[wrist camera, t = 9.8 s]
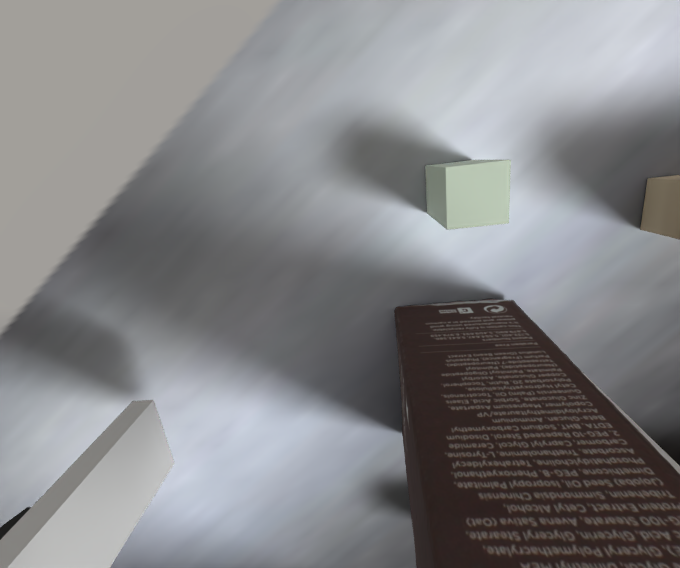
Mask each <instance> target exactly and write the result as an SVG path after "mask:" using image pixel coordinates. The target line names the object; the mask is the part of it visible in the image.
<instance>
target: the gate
mask: <svg viewBox="0 0 680 568" xmlns="http://www.w3.org/2000/svg"><path fill="white" fill-rule="evenodd" d="M510 168H511V160H468V161H460V162H451V163H443V164H435V165H426V166H425V175H426V201H427V214H429V215H430V216H431V217H432V218H433V219H435V220H436V221H437V222H438V223H440V224H441V225H442V226H443V227H444V228H446V229H447V230H449V229H458V228H468V227H478V226H488V225H498V224H508V223H509V200H510Z"/></svg>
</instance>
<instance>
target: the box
mask: <svg viewBox="0 0 680 568" xmlns="http://www.w3.org/2000/svg"><path fill="white" fill-rule="evenodd" d="M394 313H395V323H396V337H397V346H398V362H399V374H400V387H401V400H402V435H403V444H404V453H405V464H406V473H407V482H408V491H409V500H410V508H411V517H412V527H413V535H414V544H415V553H416V566H417V568H680V474H679V473H678V472H677V471H676V469H675V468H674V467H673V466H672V465H671V464H670V463H669V462H668V461H667V460H666V459H665V458H664V457H663V456H662V455H661V454H660V453H659V452H658V451H657V449H656V448H655V447H654V446H653V445H652V444H651V443H650V442H649V441H648V440H647V439H646V438H645V437H644V436H643V435H642V434H641V433H640V432H639V430H638V429H637V428H636V427H635V426H634V425H633V424H632V423H631V422H630V421H629V420H628V419H627V418H626V417H625V416H624V415H623V414H622V413H621V412H620V411H619V410H618V409H617V408H616V407H615V406H614V404H613V403H612V402H611V401H610V400H609V399H608V398H607V397H606V396H604V395H603V394H602V393H601V392H600V391H599V390H598V389H597V388H596V386H595V385H594V384H593V383H592V382H591V381H590V380H589V379H588V378H587V377H586V376H585V375H584V374H583V373H582V372H581V371H580V369H579V368H578V367H577V366H576V365H575V364H574V363H573V362H572V361H571V360H570V359H569V358H568V357H567V355H566V354H564V353H563V352H562V351H561V350H560V349H559V347H558V346H557V345H556V344H554V343H553V341H552V340H551V339H550V338H549V337H548V336H547V335H546V334H545V333H544V332H543V331H542V330H541V329H540V328H539V327H538V326H537V325H536V324H535V323H534V322H533V321H532V320H531V319H530V318H529V317H528V316H527V315H526V314H525V313H524V311H523V310H522V309H521V308H520V307H519V306H518V305H517V304H516V303H515V301H513V300H497V299H485V300H480V301H475V300H474V301H455V302H450V303H434V304H426V305H410V306H404V307H396V309H395V311H394Z"/></svg>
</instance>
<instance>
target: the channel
mask: <svg viewBox="0 0 680 568" xmlns="http://www.w3.org/2000/svg"><path fill="white" fill-rule="evenodd" d="M640 230H644V231H648V232H652V233H656V234H660V235H664V236H668V237H672V238H676V239H680V175H674V176H665V177H655V178H648V180H647V186H646V193H645V200H644V207H643V214H642V221H641V228H640Z"/></svg>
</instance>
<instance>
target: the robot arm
mask: <svg viewBox="0 0 680 568" xmlns="http://www.w3.org/2000/svg"><path fill="white" fill-rule="evenodd" d="M582 373H583V372H582ZM583 374H584V373H583ZM584 375H585V374H584ZM585 376H586V375H585ZM586 377H587V376H586ZM587 378H588V377H587ZM588 379H589V378H588ZM589 380H590V379H589ZM590 381H591V380H590ZM591 382H592V381H591ZM592 383H593V382H592ZM593 384H594V383H593ZM594 385H595V384H594ZM595 386H596V388H597V389H598V390H599V391H600V392H601V393H602V394H603V395H604V396H606V397H607V398H608V399H609V400H610V401H611V402H612V403H613V404H614V406H615V407H616V408H617V409H618V410H619V411H620V412H621V413H622V414H623V415H624V416H625V417H626V418H627V419H628V420H629V421H630V422H631V423H632V424H633V425H634V426H635V427H636V428H637V429H638V430H639V432H640V433H641V434H642V435H643V436H644V437H645V438H646V439H647V440H648V441H649V442H650V443H651V444H652V445H653V446H654V447H655V448H656V449H657V451H658V452H659V453H660V454H661V455H662V456H663V457H664V458H665V459H666V460H667V461H668V462H669V463H670V464H671V465H672V466H673V467H674V468H675V469H676V471H677V472H678V473H679V474H680V466H679V465H678V464H677V463H676V462H675V461H674V460H673V459H672V458H671V457H670V456H669V455H668V454H667V453H666V452H665V451H664V450H663V449H662V448H661V447H660V446H659V445H658V444H656V443H655V442H654V441H653V440H652V439H651V438H650V437H649V436H648V435H647V434H646V433H645V432H644V431H643V430H642V429H641V428H640V427H639V426H638V425H637V424H636V423H635V422H634V421H633V420H632V419H631V418H630V417H629V416H628V415H626V414H625V413H624V412H623V411H622V410H621V409H620V408H619V407H618V406H617V405H616V404H615V403H614V402H613V401H612V400H611V399H610V398H609V397H608V396H607V395H606V394H605V393H604V392H603V391H602V390H601V389H600V388H599V387H598V386H597V385H595ZM174 464H175V463H174V460H173V457H172V454H171V451H170V448H169V445H168V442H167V439H166V436H165V432H164V429H163V426H162V423H161V420H160V417H159V414H158V411H157V408H156V405H155V402H154V400H143V401H132V402H131V403H130V404H129V406H128V407H127V408H126V409H125V410H124V411H123V412H122V413H121V414H120V415H119V416H118V417H117V418H116V419H115V420H114V421H113V422H112V423H111V424H110V425H109V427H108V428H107V429H106V430H105V431H104V432H103V433H102V434H101V435H100V436H99V437H98V438H97V439H96V440H95V441H94V442H93V443H92V444H91V445H90V446H89V447H88V449H87V450H86V451H85V452H84V453H83V454H82V455H81V456H80V457H79V458H78V459H77V460H76V461H75V462H74V463H73V464H72V465H71V466H70V467H69V468H68V470H67V471H66V472H65V473H64V474H63V475H62V476H61V477H60V478H59V479H58V480H57V481H56V482H55V483H54V484H53V485H52V486H51V487H50V488H49V489H48V490H47V492H46V493H45V494H44V495H43V496H42V497H41V498H40V499H39V500H38V501H37V502H36V503H35V504H34V505H33V506H32V507H28V508H26V509H24V510H23V511H22V512H20V513H19V514H18V515H16V516H15V517H14V518H12V519H11V520H10V521H8V522H7V523H6V524H4V525H3V526H2V527H1V528H0V568H110V567H111V565H112V564H113V562H114V560H115V559H116V557H117V555H118V554H119V552H120V551H121V549H122V547H123V546H124V544H125V543H126V541H127V539H128V538H129V536H130V535H131V533H132V531H133V530H134V528H135V526H136V525H137V523H138V522H139V520H140V518H141V517H142V515H143V514H144V512H145V510H146V509H147V507H148V506H149V504H150V502H151V501H152V499H153V497H154V496H155V494H156V493H157V491H158V489H159V488H160V486H161V485H162V483H163V481H164V480H165V478H166V476H167V475H168V473H169V472H170V470H171V468H172V467H173V465H174Z"/></svg>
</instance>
